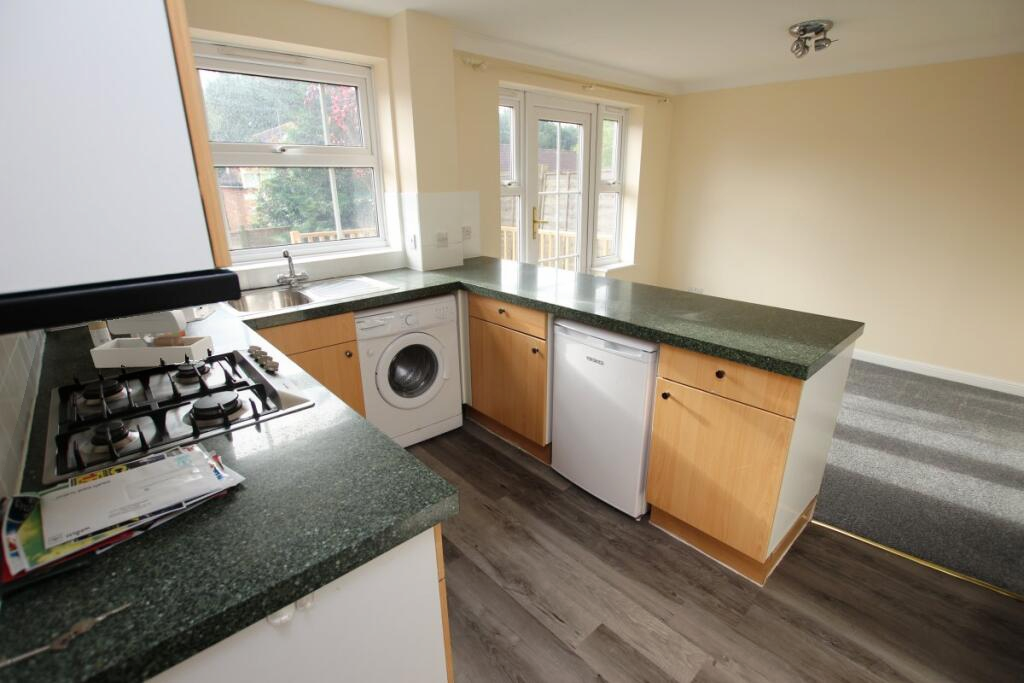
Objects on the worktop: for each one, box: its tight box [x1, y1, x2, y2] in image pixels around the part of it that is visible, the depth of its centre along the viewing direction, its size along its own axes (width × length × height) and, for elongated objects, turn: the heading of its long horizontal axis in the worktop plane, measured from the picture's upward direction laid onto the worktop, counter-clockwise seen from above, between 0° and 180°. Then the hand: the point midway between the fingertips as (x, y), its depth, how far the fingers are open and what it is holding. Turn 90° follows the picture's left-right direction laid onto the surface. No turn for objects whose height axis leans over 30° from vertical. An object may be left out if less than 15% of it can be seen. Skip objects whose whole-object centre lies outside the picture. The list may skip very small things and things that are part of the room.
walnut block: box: [153, 335, 184, 347], centre depth 140 cm, size 5×5×4 cm
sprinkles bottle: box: [87, 320, 113, 348], centre depth 145 cm, size 5×5×13 cm
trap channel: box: [89, 335, 215, 369], centre depth 141 cm, size 28×10×6 cm, turn 93°
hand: (153, 346), depth 140 cm, fingers closed
